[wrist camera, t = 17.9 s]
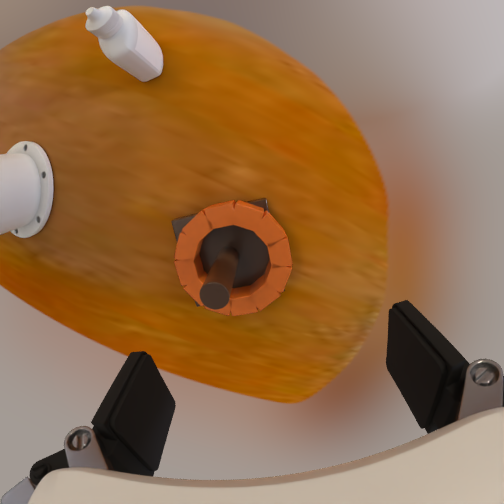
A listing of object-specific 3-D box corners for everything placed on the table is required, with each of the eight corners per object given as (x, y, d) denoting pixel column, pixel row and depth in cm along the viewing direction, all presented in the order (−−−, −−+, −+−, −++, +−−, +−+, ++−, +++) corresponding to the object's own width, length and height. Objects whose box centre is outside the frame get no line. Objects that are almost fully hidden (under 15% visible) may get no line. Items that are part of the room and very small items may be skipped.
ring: (198, 310, 27) (193, 322, 25) (170, 214, 25) (161, 219, 22) (296, 293, 27) (299, 304, 24) (277, 191, 24) (279, 192, 22)
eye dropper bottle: (174, 38, 21) (129, -22, 9) (159, 83, 22) (99, 38, 11) (138, 39, 21) (82, -11, 9) (123, 83, 22) (54, 47, 11)
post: (199, 300, 29) (174, 357, 19) (175, 218, 26) (132, 244, 17) (283, 285, 28) (294, 341, 18) (265, 197, 26) (269, 213, 16)
